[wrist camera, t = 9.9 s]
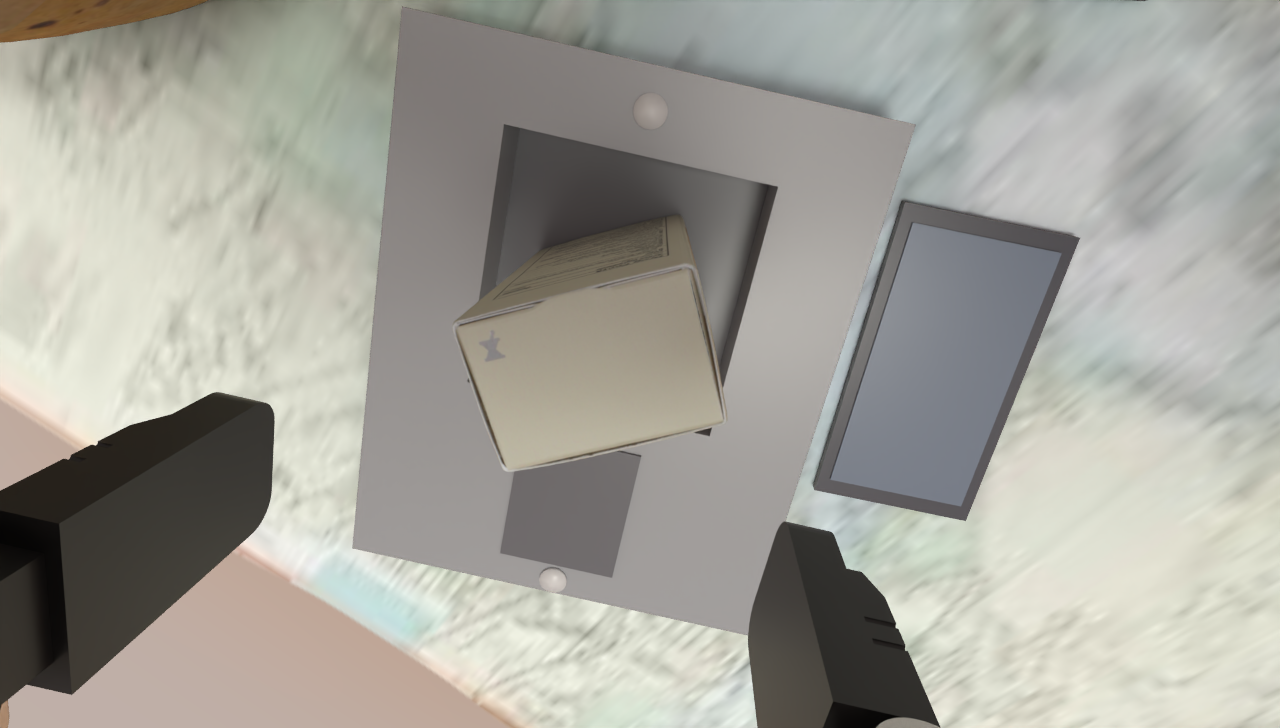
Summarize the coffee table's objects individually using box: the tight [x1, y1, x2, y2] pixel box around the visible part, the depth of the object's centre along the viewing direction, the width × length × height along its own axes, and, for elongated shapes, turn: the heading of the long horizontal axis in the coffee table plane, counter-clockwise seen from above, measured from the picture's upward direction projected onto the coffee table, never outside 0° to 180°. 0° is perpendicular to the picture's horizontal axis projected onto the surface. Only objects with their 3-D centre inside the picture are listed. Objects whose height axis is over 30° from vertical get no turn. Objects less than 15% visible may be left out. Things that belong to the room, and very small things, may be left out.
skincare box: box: [452, 215, 728, 472], centre depth 22 cm, size 6×4×12 cm
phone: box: [813, 201, 1080, 521], centre depth 29 cm, size 7×13×1 cm, turn 169°
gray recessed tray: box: [352, 7, 916, 635], centre depth 28 cm, size 18×22×3 cm
